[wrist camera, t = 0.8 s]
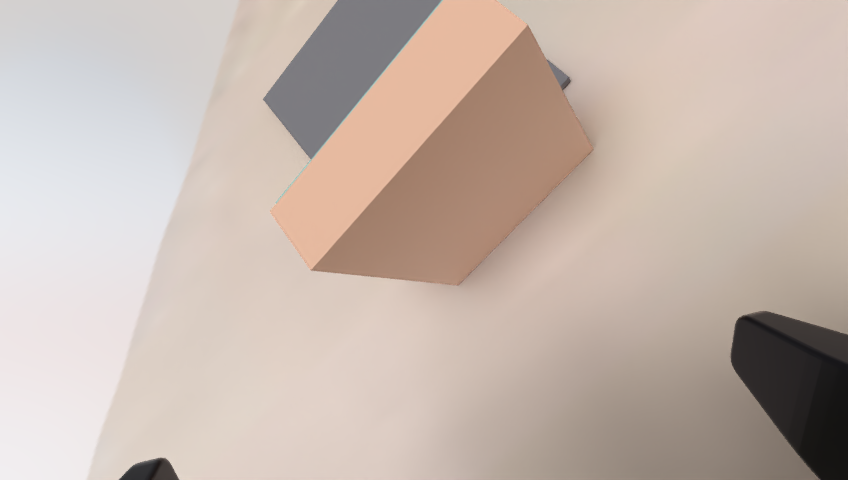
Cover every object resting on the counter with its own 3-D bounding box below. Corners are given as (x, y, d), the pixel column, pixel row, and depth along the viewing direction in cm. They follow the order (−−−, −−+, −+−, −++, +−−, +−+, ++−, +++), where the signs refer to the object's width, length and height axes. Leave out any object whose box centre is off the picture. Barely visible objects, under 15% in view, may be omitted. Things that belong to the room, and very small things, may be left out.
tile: (593, 149, 20) (527, 24, 11) (457, 285, 22) (311, 270, 13) (550, 112, 21) (458, -30, 12) (424, 245, 23) (266, 206, 14)
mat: (570, 80, 21) (568, 77, 20) (398, 264, 23) (393, 263, 23) (392, -62, 26) (388, -67, 26) (268, 101, 29) (262, 99, 28)
